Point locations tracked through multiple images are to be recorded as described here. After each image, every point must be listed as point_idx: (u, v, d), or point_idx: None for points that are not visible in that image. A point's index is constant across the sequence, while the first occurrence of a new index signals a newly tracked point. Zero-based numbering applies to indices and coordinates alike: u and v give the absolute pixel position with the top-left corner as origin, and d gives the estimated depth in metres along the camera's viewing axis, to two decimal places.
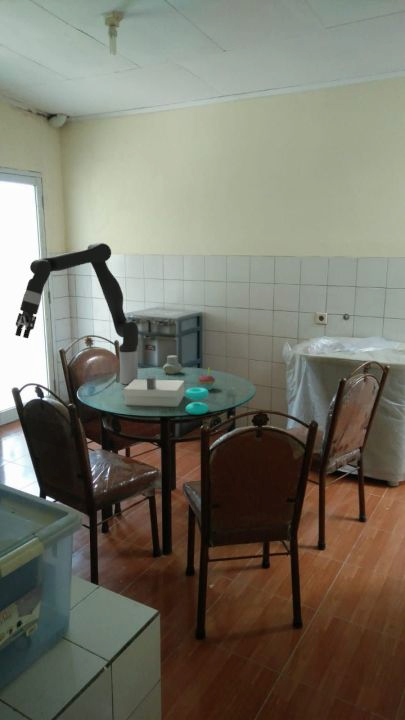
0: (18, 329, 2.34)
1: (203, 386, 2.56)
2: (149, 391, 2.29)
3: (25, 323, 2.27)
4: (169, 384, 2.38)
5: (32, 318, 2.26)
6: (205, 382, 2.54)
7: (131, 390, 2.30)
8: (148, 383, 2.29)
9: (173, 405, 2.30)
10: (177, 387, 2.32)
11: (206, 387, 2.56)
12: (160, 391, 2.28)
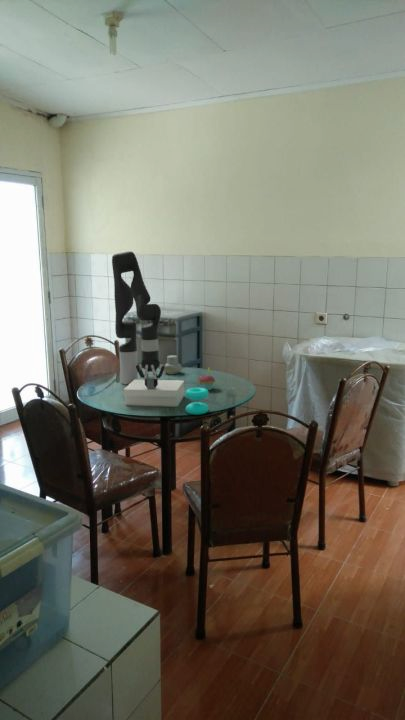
0: None
1: (203, 386, 2.56)
2: (149, 391, 2.29)
3: (155, 373, 2.28)
4: (169, 384, 2.38)
5: (164, 368, 2.28)
6: (205, 382, 2.54)
7: (131, 390, 2.30)
8: (148, 383, 2.29)
9: (173, 405, 2.30)
10: (177, 387, 2.32)
11: (206, 387, 2.56)
12: (160, 391, 2.28)
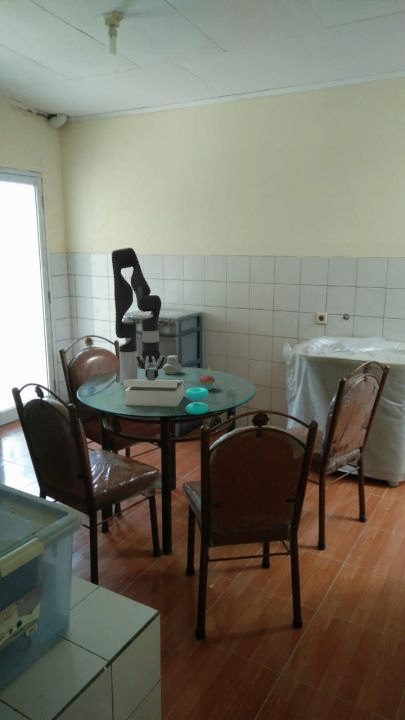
0: None
1: (203, 386, 2.56)
2: (149, 381, 2.28)
3: (155, 365, 2.29)
4: None
5: (164, 360, 2.29)
6: (205, 382, 2.54)
7: (131, 380, 2.30)
8: (148, 374, 2.29)
9: (173, 405, 2.30)
10: None
11: (206, 387, 2.56)
12: (160, 381, 2.28)
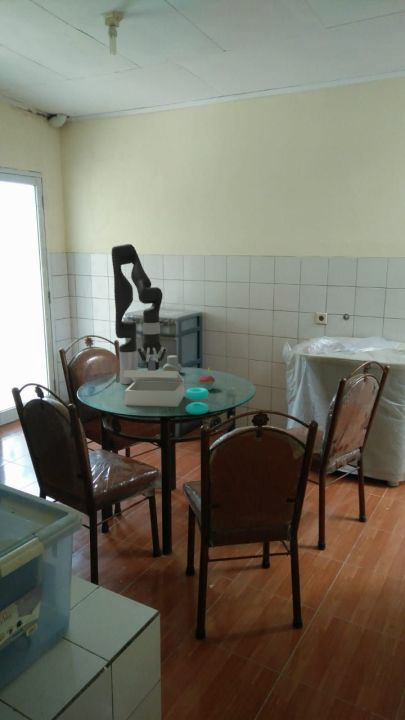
0: None
1: (203, 386, 2.56)
2: (149, 372, 2.29)
3: (156, 356, 2.31)
4: None
5: (165, 351, 2.31)
6: (205, 382, 2.54)
7: (132, 371, 2.30)
8: (149, 365, 2.31)
9: (173, 405, 2.30)
10: None
11: (206, 387, 2.56)
12: (160, 372, 2.28)
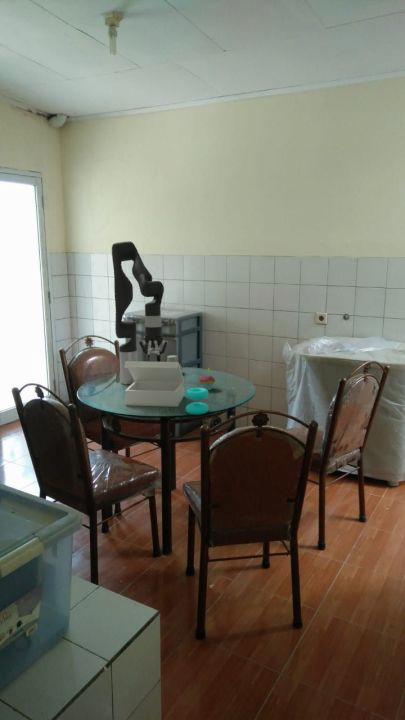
0: None
1: (203, 386, 2.56)
2: (151, 362, 2.31)
3: (158, 349, 2.33)
4: None
5: (167, 344, 2.34)
6: (205, 382, 2.54)
7: (133, 362, 2.32)
8: (151, 357, 2.33)
9: (173, 405, 2.30)
10: None
11: (206, 387, 2.56)
12: (161, 362, 2.30)
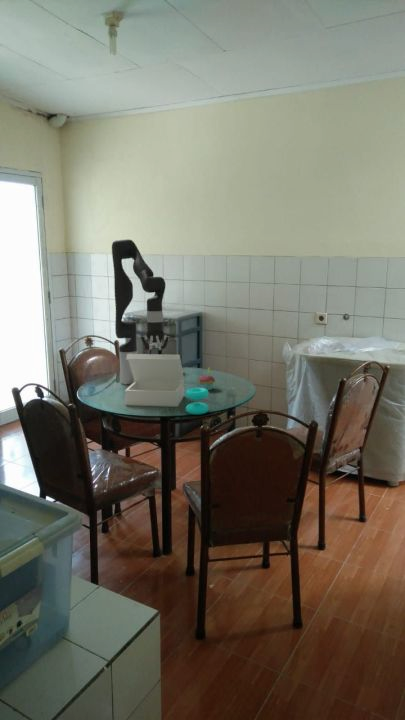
0: None
1: (203, 386, 2.56)
2: (152, 355, 2.33)
3: (159, 344, 2.36)
4: None
5: (168, 339, 2.37)
6: (205, 382, 2.54)
7: (134, 354, 2.35)
8: (152, 351, 2.36)
9: (173, 405, 2.30)
10: None
11: (206, 387, 2.56)
12: (163, 355, 2.33)
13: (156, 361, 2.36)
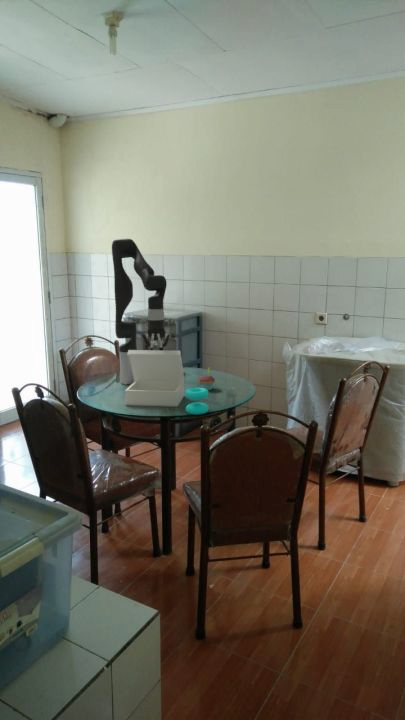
0: None
1: (203, 386, 2.56)
2: (153, 351, 2.35)
3: (161, 342, 2.39)
4: None
5: (169, 337, 2.39)
6: (205, 382, 2.54)
7: (136, 350, 2.37)
8: (154, 348, 2.38)
9: (173, 405, 2.30)
10: None
11: (206, 387, 2.56)
12: (164, 351, 2.35)
13: (157, 358, 2.37)
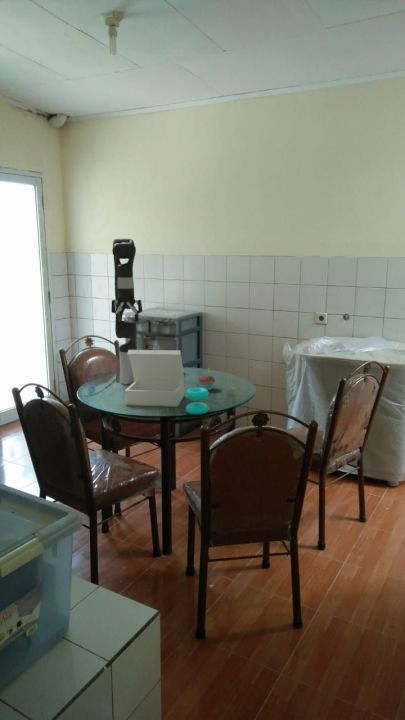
0: (118, 315, 2.40)
1: (203, 386, 2.56)
2: (153, 351, 2.35)
3: (134, 309, 2.38)
4: None
5: (140, 302, 2.38)
6: (205, 382, 2.54)
7: (136, 350, 2.37)
8: (154, 348, 2.39)
9: (173, 405, 2.30)
10: None
11: (206, 387, 2.56)
12: (164, 351, 2.35)
13: (157, 358, 2.37)
